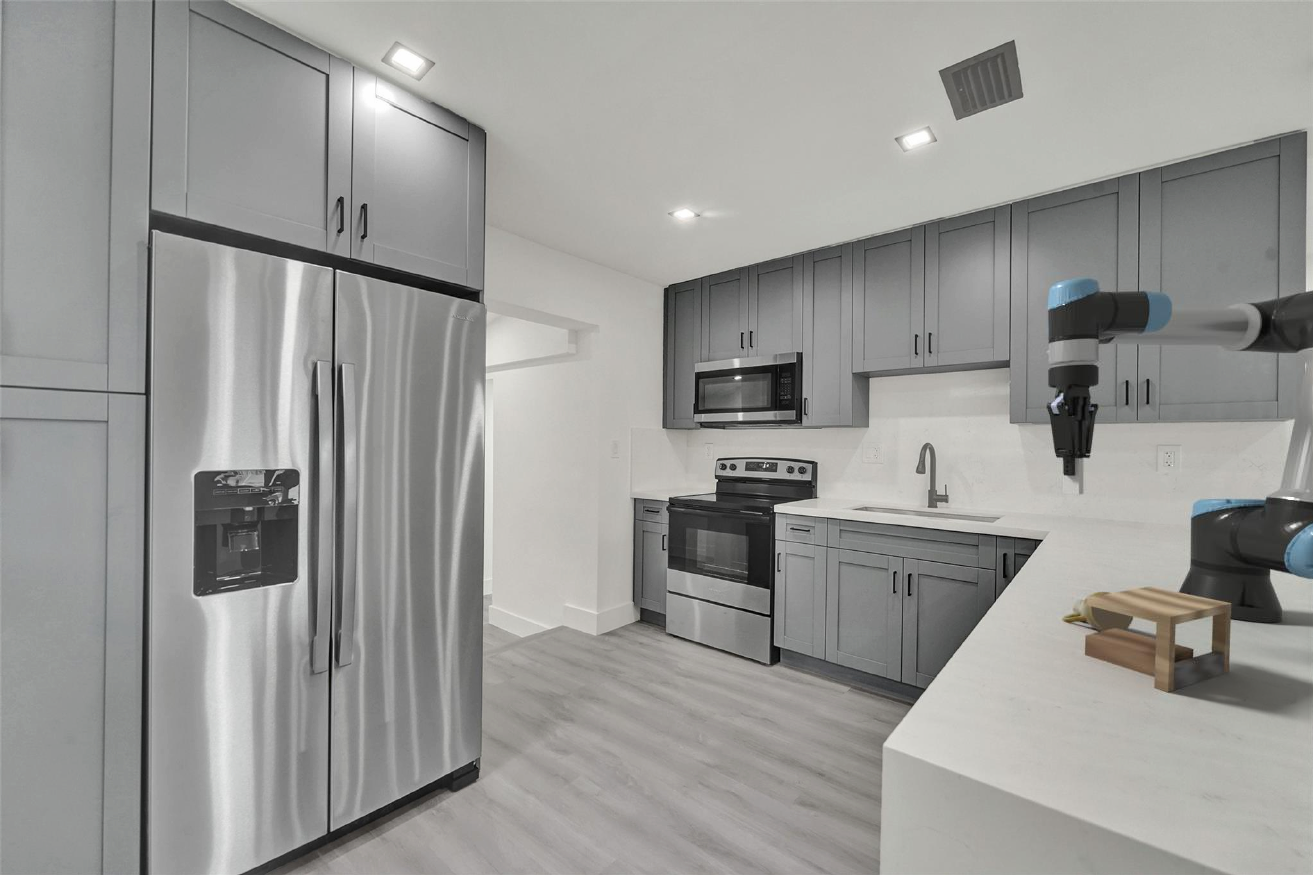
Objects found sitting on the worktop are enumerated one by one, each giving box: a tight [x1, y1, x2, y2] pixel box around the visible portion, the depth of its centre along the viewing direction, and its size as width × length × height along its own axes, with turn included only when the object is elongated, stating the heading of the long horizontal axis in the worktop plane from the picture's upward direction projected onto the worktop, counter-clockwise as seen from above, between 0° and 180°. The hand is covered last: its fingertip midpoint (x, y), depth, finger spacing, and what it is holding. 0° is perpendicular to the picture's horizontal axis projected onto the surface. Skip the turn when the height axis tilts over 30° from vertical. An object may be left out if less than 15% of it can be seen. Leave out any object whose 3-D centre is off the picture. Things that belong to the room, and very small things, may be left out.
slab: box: [1084, 628, 1194, 678], centre depth 88 cm, size 9×10×4 cm
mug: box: [1061, 591, 1134, 632], centre depth 104 cm, size 8×10×10 cm
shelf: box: [1087, 586, 1232, 693], centre depth 86 cm, size 18×10×10 cm, turn 116°
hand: (1072, 493), depth 105 cm, fingers closed
